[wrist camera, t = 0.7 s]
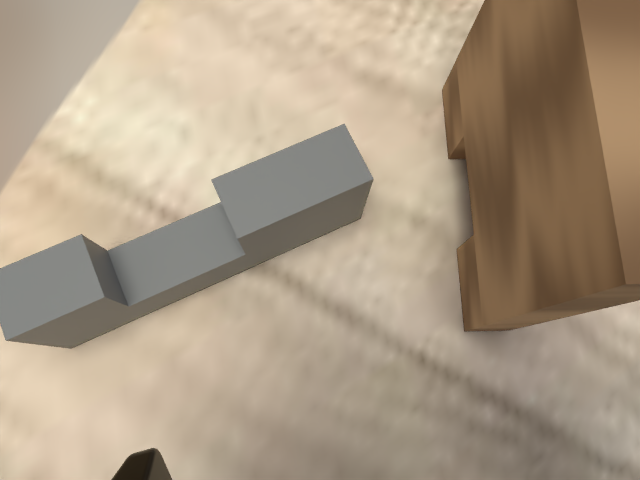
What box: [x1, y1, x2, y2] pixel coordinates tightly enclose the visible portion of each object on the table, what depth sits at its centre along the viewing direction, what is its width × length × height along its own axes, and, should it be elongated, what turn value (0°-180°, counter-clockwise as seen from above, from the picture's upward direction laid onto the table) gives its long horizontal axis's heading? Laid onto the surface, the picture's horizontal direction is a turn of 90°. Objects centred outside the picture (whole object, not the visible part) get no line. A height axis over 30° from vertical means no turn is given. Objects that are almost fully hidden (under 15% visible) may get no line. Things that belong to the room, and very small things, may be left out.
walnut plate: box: [442, 0, 640, 331], centre depth 19 cm, size 12×2×12 cm, turn 1°
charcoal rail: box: [0, 124, 373, 349], centre depth 21 cm, size 14×2×5 cm, turn 115°
